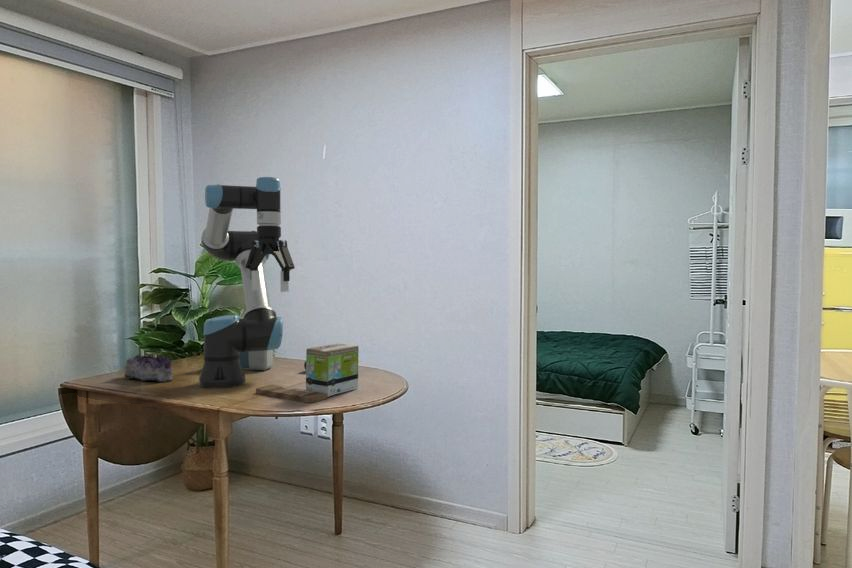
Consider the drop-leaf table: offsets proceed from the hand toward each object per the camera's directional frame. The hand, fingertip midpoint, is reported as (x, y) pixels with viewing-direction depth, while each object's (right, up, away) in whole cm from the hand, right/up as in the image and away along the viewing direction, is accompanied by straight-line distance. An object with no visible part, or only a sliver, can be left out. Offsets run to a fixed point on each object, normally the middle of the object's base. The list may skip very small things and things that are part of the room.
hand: (269, 291), depth 194 cm
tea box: (+20, -33, 0) cm, 39 cm away
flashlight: (+10, -31, +39) cm, 51 cm away
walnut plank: (+8, -33, -6) cm, 35 cm away
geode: (-48, -32, +20) cm, 61 cm away
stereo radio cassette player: (-20, -31, +39) cm, 54 cm away
